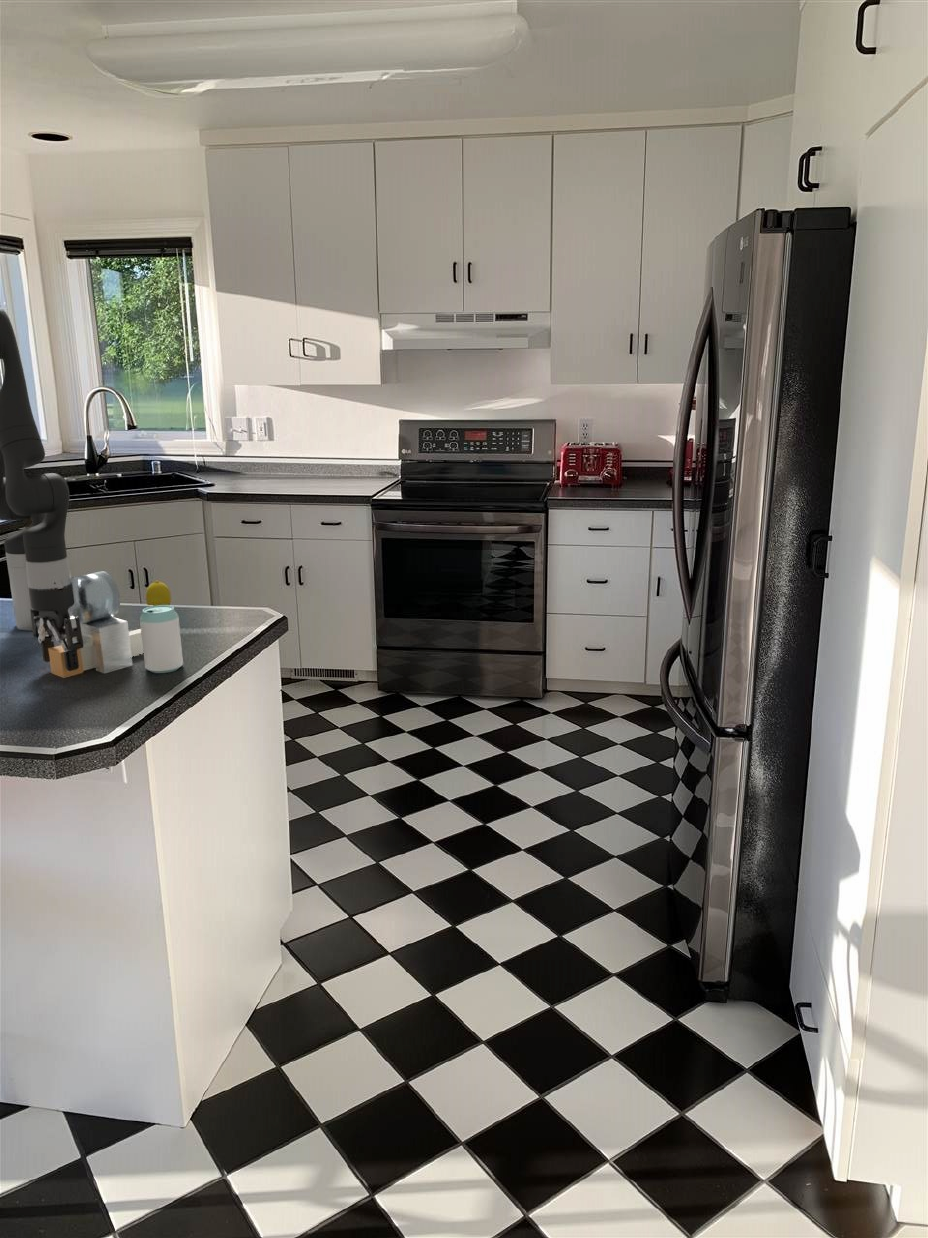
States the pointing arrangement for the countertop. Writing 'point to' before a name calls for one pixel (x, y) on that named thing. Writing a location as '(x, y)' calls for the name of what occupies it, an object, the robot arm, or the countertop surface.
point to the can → (161, 639)
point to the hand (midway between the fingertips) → (61, 665)
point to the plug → (87, 656)
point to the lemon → (158, 594)
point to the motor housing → (101, 620)
